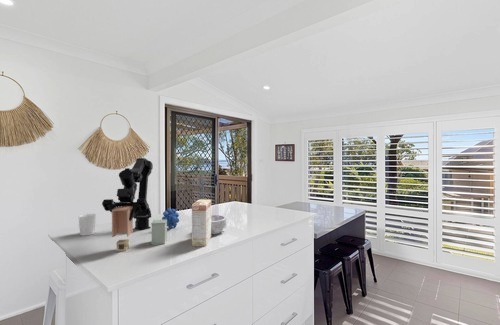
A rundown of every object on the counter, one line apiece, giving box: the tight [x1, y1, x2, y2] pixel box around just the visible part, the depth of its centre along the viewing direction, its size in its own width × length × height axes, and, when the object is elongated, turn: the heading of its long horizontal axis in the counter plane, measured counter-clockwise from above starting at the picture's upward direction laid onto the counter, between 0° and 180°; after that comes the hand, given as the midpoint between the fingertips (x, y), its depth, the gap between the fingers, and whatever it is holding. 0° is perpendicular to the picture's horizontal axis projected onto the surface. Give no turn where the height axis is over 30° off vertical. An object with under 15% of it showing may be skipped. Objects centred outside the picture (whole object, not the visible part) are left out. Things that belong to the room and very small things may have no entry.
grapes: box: [161, 207, 180, 229], centre depth 152 cm, size 12×7×12 cm, turn 145°
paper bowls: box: [211, 214, 227, 235], centre depth 146 cm, size 15×15×8 cm
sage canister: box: [150, 219, 168, 245], centre depth 128 cm, size 6×6×10 cm
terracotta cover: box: [111, 206, 134, 238], centre depth 118 cm, size 7×7×12 cm
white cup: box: [78, 213, 97, 237], centre depth 141 cm, size 8×8×10 cm
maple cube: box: [115, 238, 130, 252], centre depth 118 cm, size 4×4×4 cm
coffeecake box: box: [191, 198, 212, 247], centre depth 130 cm, size 15×7×20 cm, turn 178°
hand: (121, 220), depth 117 cm, fingers closed on terracotta cover, 7 cm apart
